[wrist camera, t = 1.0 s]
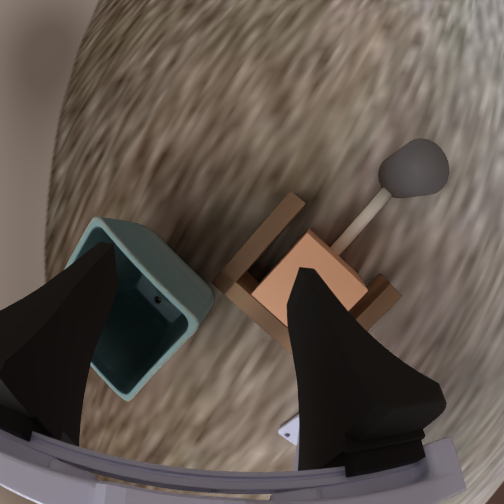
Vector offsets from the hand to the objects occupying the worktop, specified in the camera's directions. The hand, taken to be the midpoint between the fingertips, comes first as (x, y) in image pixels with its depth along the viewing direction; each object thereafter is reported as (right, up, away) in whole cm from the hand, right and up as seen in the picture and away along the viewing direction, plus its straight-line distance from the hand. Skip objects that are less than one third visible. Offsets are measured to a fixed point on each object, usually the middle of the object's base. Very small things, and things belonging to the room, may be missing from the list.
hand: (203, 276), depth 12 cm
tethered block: (+9, +3, +10) cm, 14 cm away
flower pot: (-5, -2, +14) cm, 15 cm away
